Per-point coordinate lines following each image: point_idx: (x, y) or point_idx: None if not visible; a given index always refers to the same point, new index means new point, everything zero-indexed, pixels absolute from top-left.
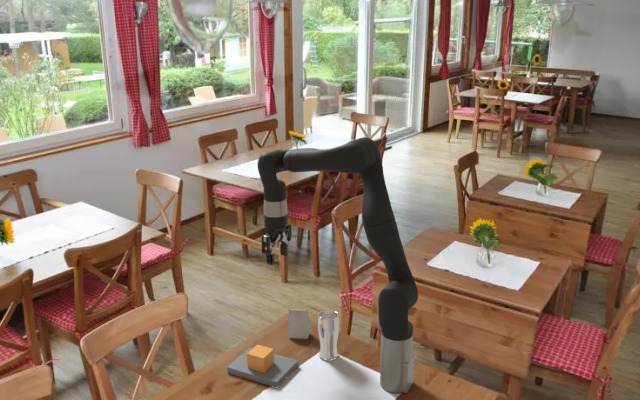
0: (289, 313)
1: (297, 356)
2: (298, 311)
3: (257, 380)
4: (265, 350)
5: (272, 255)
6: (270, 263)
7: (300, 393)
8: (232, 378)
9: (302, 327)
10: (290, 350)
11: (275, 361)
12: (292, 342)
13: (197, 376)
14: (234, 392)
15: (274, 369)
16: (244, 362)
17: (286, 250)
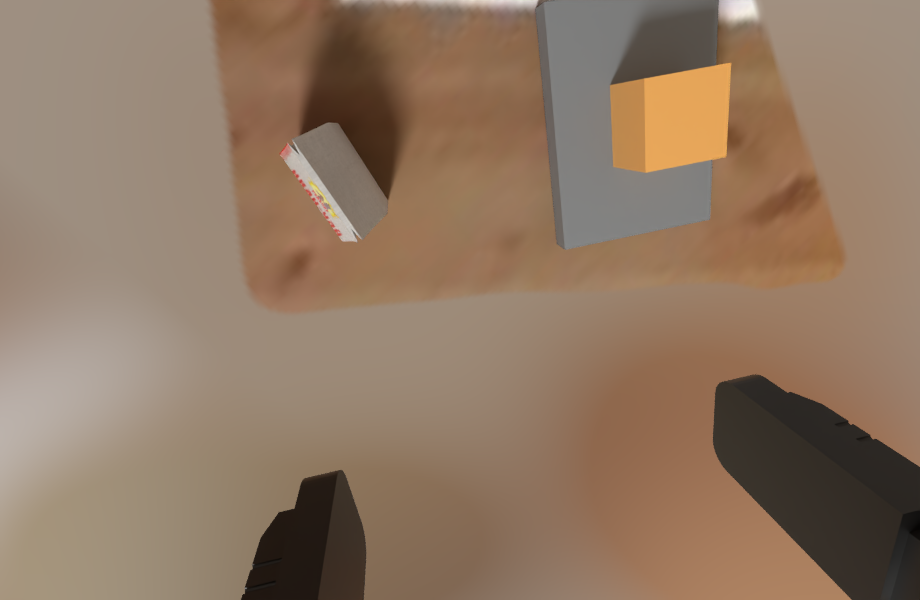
0: (365, 227)
1: (477, 65)
2: (330, 188)
3: None
4: (672, 103)
5: (912, 481)
6: (798, 396)
7: None
8: (715, 175)
9: (346, 146)
10: (458, 124)
11: (598, 88)
12: (404, 161)
13: (749, 276)
14: (780, 107)
15: (647, 49)
16: (659, 190)
17: (306, 545)
